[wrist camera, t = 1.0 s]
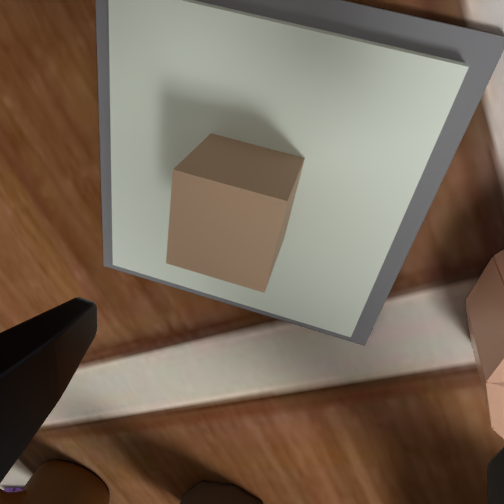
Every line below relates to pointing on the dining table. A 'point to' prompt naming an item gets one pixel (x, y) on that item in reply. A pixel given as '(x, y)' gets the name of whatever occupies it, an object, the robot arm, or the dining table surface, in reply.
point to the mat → (364, 27)
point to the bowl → (489, 336)
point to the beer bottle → (217, 494)
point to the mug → (59, 486)
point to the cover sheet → (286, 111)
